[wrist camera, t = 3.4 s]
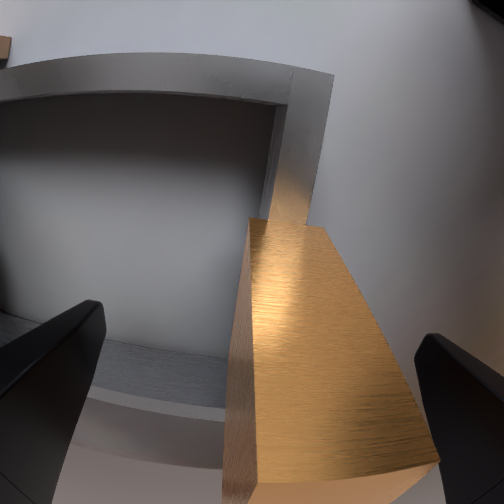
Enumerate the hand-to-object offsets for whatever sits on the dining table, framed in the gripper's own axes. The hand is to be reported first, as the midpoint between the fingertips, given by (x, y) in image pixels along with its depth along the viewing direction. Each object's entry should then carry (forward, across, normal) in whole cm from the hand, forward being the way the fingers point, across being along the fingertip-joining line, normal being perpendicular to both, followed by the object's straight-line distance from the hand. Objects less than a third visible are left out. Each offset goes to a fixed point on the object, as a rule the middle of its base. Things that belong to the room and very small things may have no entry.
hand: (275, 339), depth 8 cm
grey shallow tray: (+5, +11, 0) cm, 12 cm away
